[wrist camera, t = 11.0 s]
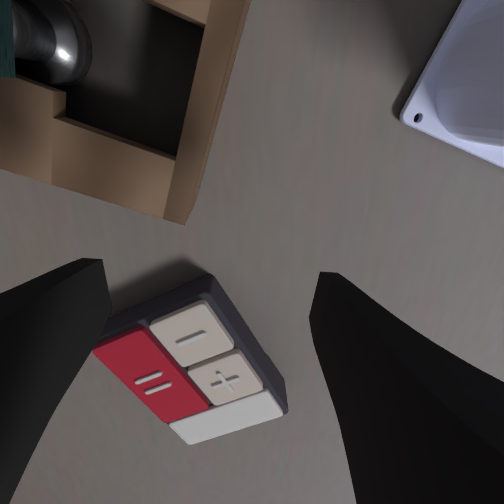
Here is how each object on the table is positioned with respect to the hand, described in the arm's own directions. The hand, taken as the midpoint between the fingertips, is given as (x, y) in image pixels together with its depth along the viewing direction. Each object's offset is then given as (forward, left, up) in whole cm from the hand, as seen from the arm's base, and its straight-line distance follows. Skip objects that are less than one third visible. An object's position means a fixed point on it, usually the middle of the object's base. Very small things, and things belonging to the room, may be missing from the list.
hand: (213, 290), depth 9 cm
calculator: (-2, +15, -11) cm, 19 cm away
